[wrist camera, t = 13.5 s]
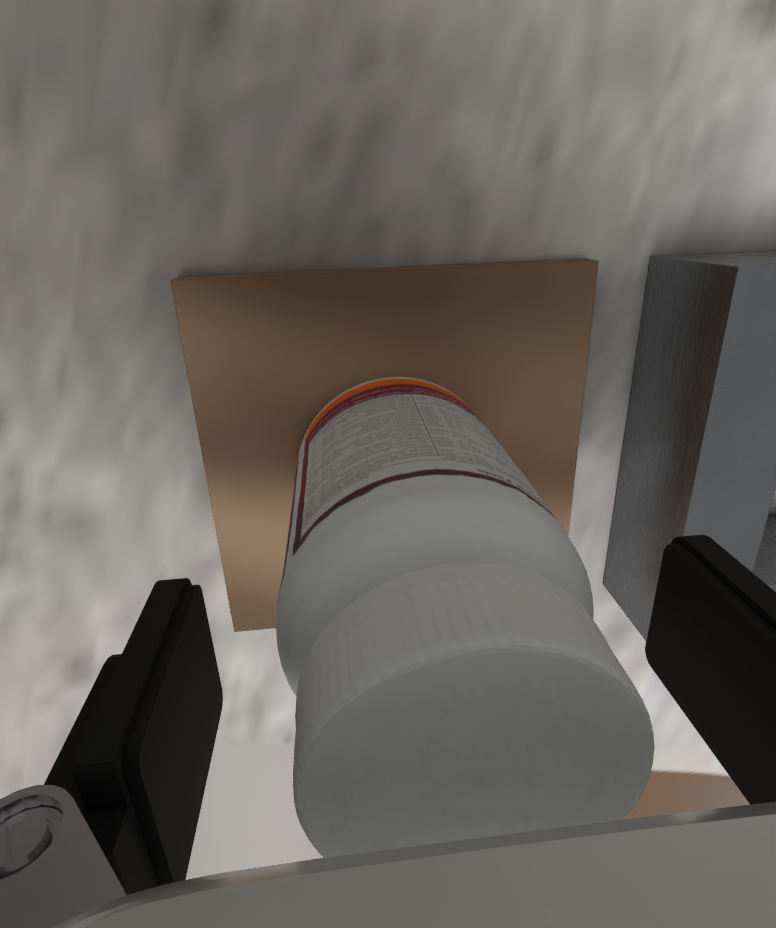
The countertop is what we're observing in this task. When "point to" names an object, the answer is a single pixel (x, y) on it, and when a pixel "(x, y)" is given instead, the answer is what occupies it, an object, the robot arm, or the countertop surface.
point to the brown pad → (367, 358)
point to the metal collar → (698, 423)
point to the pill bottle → (442, 638)
